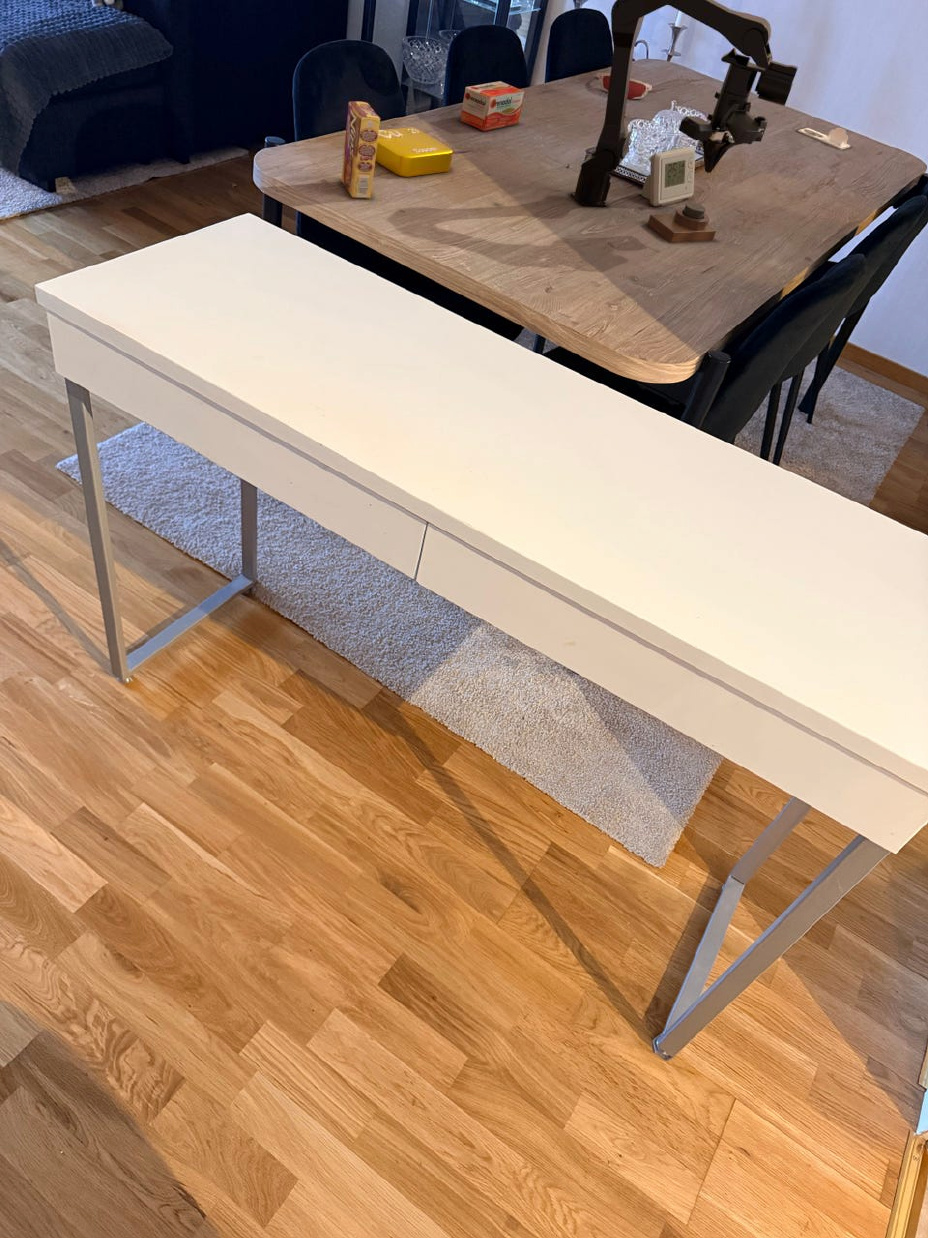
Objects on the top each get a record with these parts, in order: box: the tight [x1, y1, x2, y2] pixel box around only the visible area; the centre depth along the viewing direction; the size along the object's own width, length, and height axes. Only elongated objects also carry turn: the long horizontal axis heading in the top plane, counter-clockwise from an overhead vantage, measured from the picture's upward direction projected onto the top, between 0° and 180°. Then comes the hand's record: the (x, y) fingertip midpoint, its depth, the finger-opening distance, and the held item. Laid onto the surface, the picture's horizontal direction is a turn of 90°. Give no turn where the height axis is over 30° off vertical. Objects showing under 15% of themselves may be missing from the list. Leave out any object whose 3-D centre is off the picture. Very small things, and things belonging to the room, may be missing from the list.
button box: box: [647, 206, 717, 243], centre depth 202 cm, size 12×9×4 cm
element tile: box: [375, 126, 453, 178], centre depth 202 cm, size 15×15×5 cm
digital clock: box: [640, 146, 696, 207], centre depth 213 cm, size 16×9×11 cm, turn 123°
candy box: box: [341, 101, 381, 199], centre depth 182 cm, size 9×4×15 cm, turn 20°
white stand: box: [797, 127, 851, 151], centre depth 278 cm, size 15×7×4 cm, turn 46°
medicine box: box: [460, 80, 525, 132], centre depth 231 cm, size 15×8×8 cm, turn 142°
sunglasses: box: [595, 72, 653, 100], centre depth 278 cm, size 17×17×5 cm
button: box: [683, 202, 706, 219], centre depth 201 cm, size 4×4×2 cm
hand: (707, 171), depth 195 cm, fingers closed
